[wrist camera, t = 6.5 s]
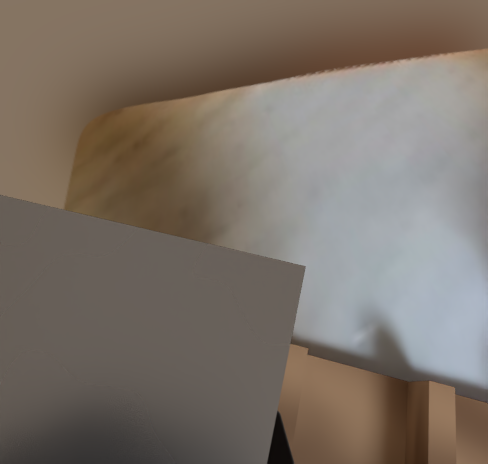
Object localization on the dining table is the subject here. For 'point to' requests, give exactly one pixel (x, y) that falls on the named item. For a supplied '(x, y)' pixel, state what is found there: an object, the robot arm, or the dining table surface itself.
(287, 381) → the rail rack
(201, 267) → the tall grey box
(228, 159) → the dining table surface
